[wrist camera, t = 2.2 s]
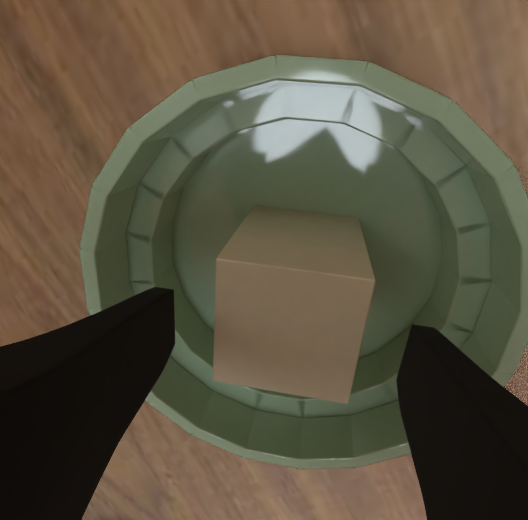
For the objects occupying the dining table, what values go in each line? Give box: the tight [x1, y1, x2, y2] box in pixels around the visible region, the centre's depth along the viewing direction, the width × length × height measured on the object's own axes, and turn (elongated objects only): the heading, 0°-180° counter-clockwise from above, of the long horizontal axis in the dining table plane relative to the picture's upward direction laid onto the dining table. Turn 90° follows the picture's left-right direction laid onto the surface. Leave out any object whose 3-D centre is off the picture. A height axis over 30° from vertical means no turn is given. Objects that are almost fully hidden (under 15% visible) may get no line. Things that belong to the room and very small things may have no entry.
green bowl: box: [79, 55, 528, 469], centre depth 15 cm, size 15×15×5 cm
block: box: [213, 206, 376, 404], centre depth 14 cm, size 4×4×6 cm
